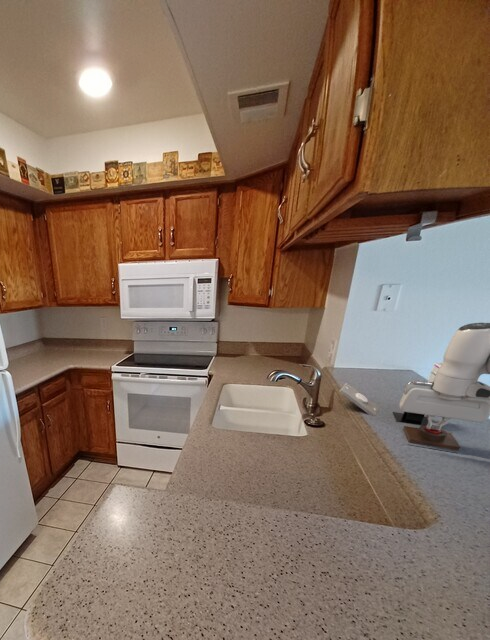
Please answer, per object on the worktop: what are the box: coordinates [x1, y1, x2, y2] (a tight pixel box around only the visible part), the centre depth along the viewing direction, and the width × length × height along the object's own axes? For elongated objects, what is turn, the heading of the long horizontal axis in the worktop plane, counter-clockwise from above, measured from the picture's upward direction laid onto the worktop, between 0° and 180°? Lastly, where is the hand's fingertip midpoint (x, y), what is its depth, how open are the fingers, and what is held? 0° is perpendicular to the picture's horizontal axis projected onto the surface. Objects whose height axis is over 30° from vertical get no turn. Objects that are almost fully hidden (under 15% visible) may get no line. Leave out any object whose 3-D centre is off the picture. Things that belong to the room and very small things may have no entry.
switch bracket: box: [392, 411, 428, 426], centre depth 107 cm, size 10×8×13 cm
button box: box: [402, 425, 461, 454], centre depth 97 cm, size 12×9×4 cm
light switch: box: [339, 382, 381, 417], centre depth 118 cm, size 8×6×14 cm
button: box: [425, 427, 441, 434], centre depth 96 cm, size 4×4×2 cm
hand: (432, 429), depth 96 cm, fingers closed, pressing on button
